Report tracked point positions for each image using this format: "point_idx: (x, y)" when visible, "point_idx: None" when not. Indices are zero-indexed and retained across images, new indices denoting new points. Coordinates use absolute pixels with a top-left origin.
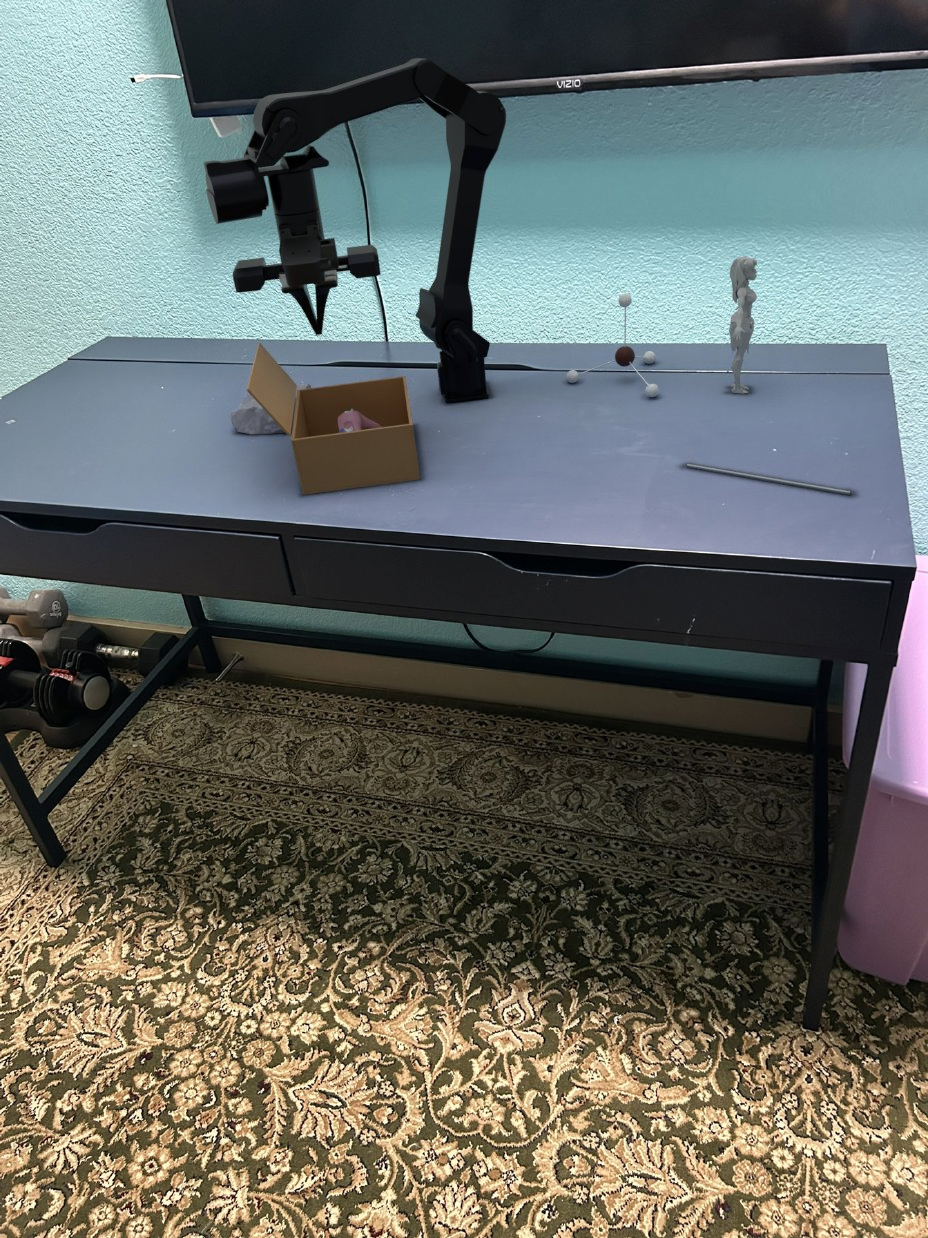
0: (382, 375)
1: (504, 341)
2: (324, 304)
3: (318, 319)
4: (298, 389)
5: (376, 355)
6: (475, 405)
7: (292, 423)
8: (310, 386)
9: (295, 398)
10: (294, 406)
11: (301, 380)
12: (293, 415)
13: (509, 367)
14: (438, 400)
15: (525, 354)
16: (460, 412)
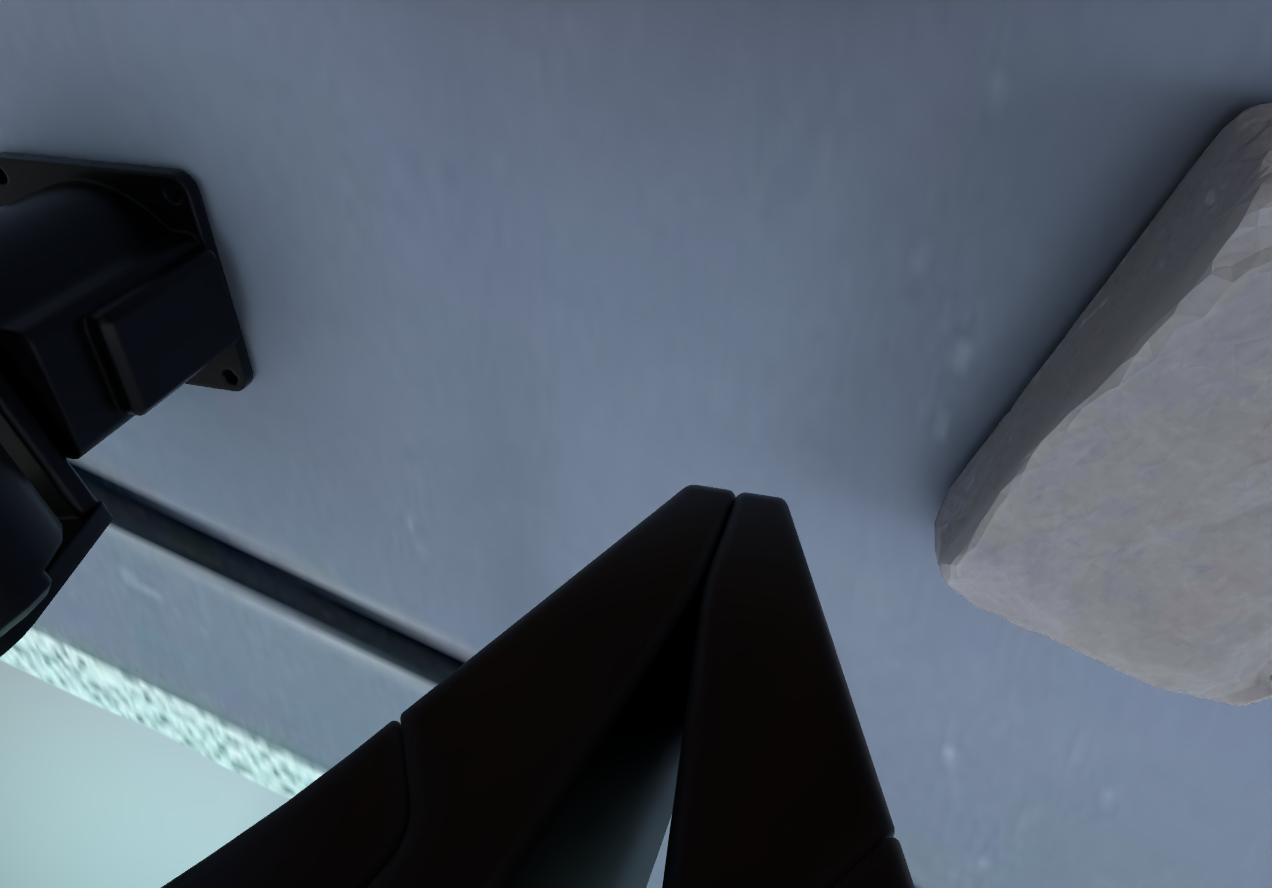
0: None
1: (119, 681)
2: (274, 832)
3: (626, 625)
4: (1043, 523)
5: None
6: (37, 80)
7: (1181, 189)
8: (943, 560)
9: (1112, 371)
10: (1135, 310)
11: (951, 775)
12: (1158, 247)
13: None
14: (249, 237)
15: None
16: (90, 5)
